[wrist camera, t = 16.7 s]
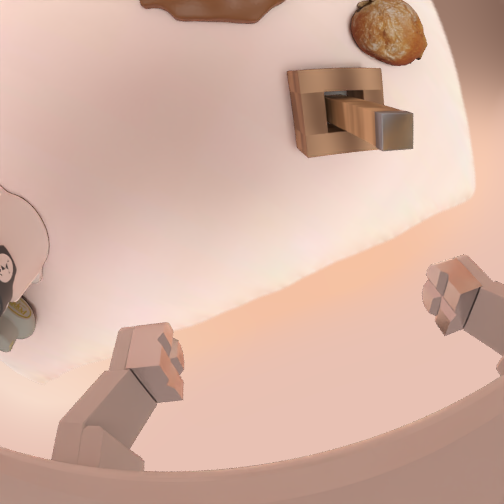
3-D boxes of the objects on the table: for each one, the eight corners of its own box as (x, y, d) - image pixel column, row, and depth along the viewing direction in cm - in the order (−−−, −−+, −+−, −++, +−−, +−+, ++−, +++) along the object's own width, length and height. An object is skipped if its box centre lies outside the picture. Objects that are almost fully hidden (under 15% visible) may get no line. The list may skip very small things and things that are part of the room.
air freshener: (44, 311, 47) (26, 350, 38) (32, 329, 49) (16, 366, 41) (2, 277, 42) (-22, 313, 33) (-6, 299, 44) (-27, 333, 36)
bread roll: (368, -2, 28) (372, -28, 21) (432, 36, 28) (448, 17, 21) (338, 45, 33) (337, 24, 25) (404, 84, 32) (417, 72, 25)
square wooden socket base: (297, 147, 37) (308, 157, 33) (286, 71, 31) (297, 70, 27) (367, 139, 37) (385, 148, 33) (362, 67, 31) (381, 68, 27)
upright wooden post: (320, 118, 35) (382, 151, 22) (317, 95, 33) (381, 113, 20) (342, 116, 35) (413, 148, 22) (340, 94, 33) (413, 113, 20)
